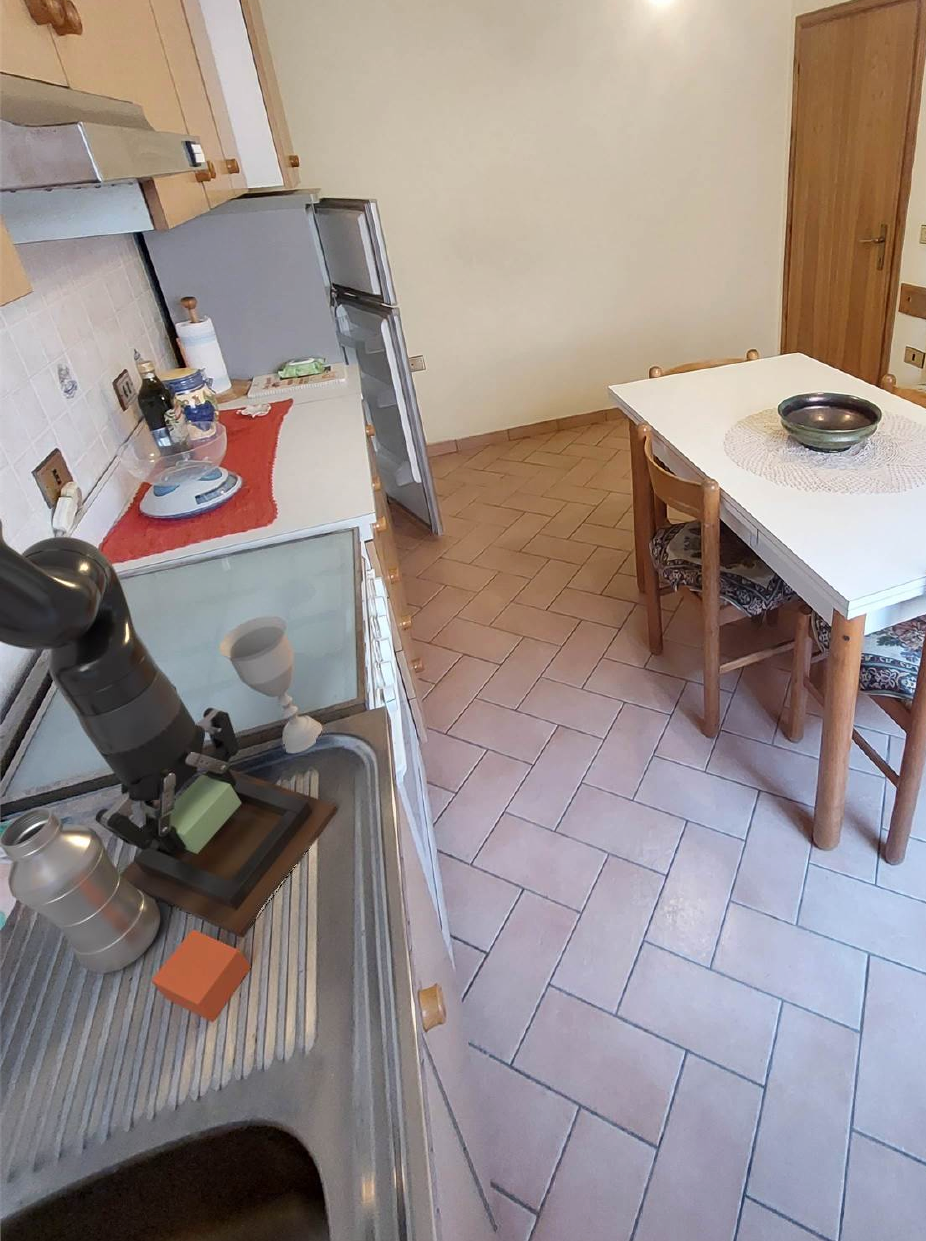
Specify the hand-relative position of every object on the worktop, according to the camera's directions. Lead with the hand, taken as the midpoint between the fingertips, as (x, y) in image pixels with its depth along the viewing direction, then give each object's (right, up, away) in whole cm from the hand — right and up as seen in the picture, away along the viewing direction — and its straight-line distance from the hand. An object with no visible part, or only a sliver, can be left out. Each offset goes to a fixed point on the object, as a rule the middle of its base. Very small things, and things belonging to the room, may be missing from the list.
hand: (203, 819), depth 75 cm
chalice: (+5, +3, +14) cm, 15 cm away
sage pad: (0, -1, 0) cm, 1 cm away
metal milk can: (-3, -9, -7) cm, 12 cm away
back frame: (+3, -4, +1) cm, 5 cm away
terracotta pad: (+7, -10, -11) cm, 16 cm away
